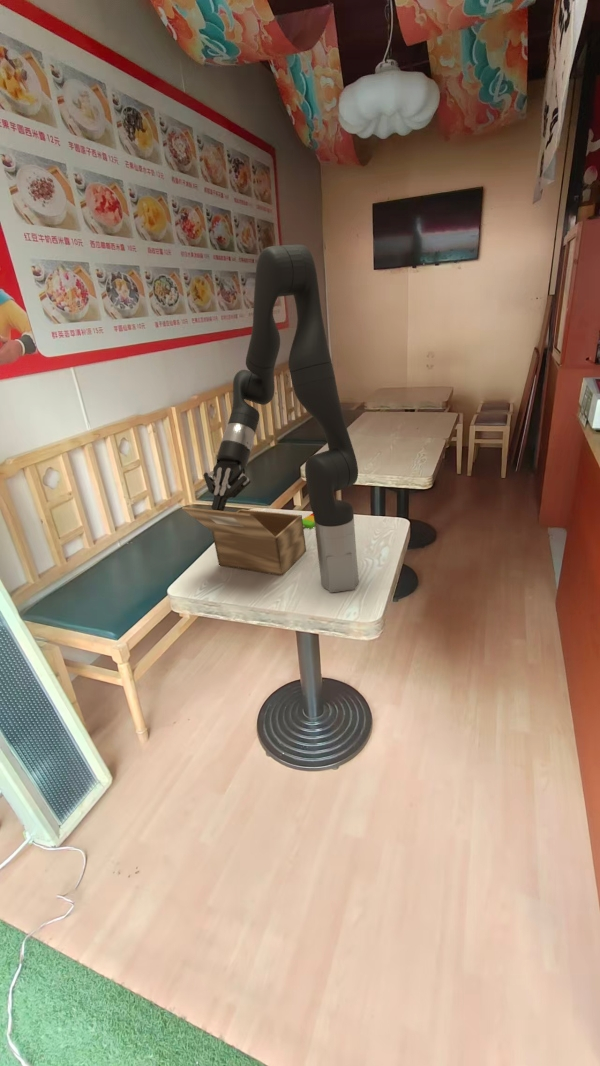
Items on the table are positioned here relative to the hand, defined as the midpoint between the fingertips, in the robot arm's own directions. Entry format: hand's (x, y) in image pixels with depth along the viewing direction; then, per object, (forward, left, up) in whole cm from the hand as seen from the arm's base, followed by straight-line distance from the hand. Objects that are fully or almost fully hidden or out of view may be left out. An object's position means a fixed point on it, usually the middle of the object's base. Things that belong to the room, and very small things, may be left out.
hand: (216, 512), depth 123 cm
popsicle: (+31, -22, -21) cm, 44 cm away
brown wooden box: (+13, -8, -21) cm, 26 cm away
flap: (+3, -2, -4) cm, 6 cm away
